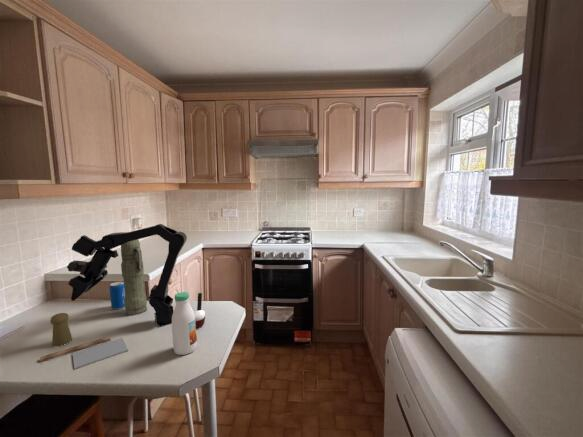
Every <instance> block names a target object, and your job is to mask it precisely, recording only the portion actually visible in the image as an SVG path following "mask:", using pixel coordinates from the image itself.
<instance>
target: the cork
mask: <svg viewBox="0 0 583 437" xmlns="http://www.w3.org/2000/svg"><path fill="white" fill-rule="evenodd" d="M68 320H69V314H68V313H67V312H59V313H57V314H54V315H52V316H51V317H50V320H49V321H50V323H51V325H52V335H51V338H52V339H51V347H53V346H59V347H62V346H61V345H63V346H65V345H64V344H66V345H68V344H70V343H71V342H73V340H72V339H73V336H72V333H71V330H70V326H69V322H68ZM70 341H71V342H70ZM69 342H70V343H69ZM67 343H68V344H67Z"/></svg>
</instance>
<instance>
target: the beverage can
mask: <svg viewBox="0 0 583 437" xmlns="http://www.w3.org/2000/svg"><path fill="white" fill-rule="evenodd" d="M109 295H110V304H111V305H110V306H111V307H110V308H111V309H113V310H116V311H118V310H122V309H125V303H124V299H125V288H124V281H117V282H113V283H110V286H109Z"/></svg>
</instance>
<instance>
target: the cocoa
mask: <svg viewBox="0 0 583 437" xmlns="http://www.w3.org/2000/svg"><path fill="white" fill-rule="evenodd" d="M202 298H203V294H202V292H198V293H197V306H196V310H195V311H194V314H195V321H196V329H199V327H200V328H201V327H203V326H204V324H205V322H206V311H205V310H203V309H202V304H203V303H202V300H203V299H202Z"/></svg>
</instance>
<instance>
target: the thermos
mask: <svg viewBox="0 0 583 437" xmlns="http://www.w3.org/2000/svg"><path fill="white" fill-rule="evenodd" d="M139 240H140V239H137V240H133V241H129V242H127V243H124V244H122V245H120V252H121V254H120V256H121V264H120V267H121V268H120V269H121V276H122V278H123V282H124V288H125V299H124V303H125V308H124V309H125V314H126V315H127V316H137V315H140V314H143V313H145V312H147V310H148V308H147V307H148V306H147V304H148V301H147V295H146V293H145V283H144V273H145V270H144V261H143V256H142V255H143V254H142V250H141V243H140V241H139Z"/></svg>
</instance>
